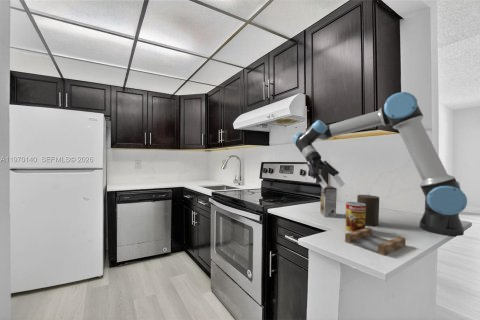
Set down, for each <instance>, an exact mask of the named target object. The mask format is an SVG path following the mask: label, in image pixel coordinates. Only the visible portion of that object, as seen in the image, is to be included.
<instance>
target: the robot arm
mask: <svg viewBox="0 0 480 320" xmlns="http://www.w3.org/2000/svg"><path fill="white" fill-rule="evenodd" d="M423 119H424V114H423V112H422V110H421V109H420V106H419V104H418V98H416V96H415V95H414V94H412V93H410V92H408V91H407V92H406V91H401V92H397V93H393V94H391V95H390V96H388V98H387V99H386V100H385V103H384V105H383V107H380V108H379V109H378V110H377V111H373V112H369V113H365V114H362V115H358V116H355V117H351V118H347V119H345V120H342V121H341V120H340V121H339V122H338V121H337V122H335V123H331V124H328V125H326V123H324V122H323V121H322V120H320V119H317V120H316V121H315V122H313V123H312V124H311V125H310V126H309V128H308V129H306V130H305V132H298V133H296V134H295V135H294V136H293V137H292V138H293V139H292V141H293V143H294V145H295V147H296V148H297V149H298V150H299V152H300V153H301V154H302V157H304V159H305V160H306V165H307V167H308V171H309V175H310V177H311V178H313V179H316V181H317V182H318V183H319V185H320V187H321V186H322V187H323V189H324V188H325V187H326V186H329V184H328V183H327V182H326V181H325V179H324V178H323V176H322V175H321V174H320V172H319V171H320V170H321V171H324V172H326V173H327V174H329V175H330V176H332V177H333V178H332V179H334V181H335V182H336V184H338V186H339V187H340V188H342V187H343V186H345V182H344V180H342V178H341V177H340V176H339V174H340V171H338V170H337V169H336V168H335V167H333V166H332V164H330V163H329V162H328V161H327V160H324V161H323V160H322V155H321V154H320V153H319V152H318V150H317V149H316V147H315V146H314V145H313V143H314V142H315V141H317V140H321V141H325V140H329V139H331V138H333V137H337V136H341V135H346V134H349V133H354V132H358V131H362V130H365V129H366V130H367V129H371V128H374V127H379V126H384V127H386V126H392V129H394V130H397V131H398V132H399V134H400V137H401V139H402V141H403V143H404V145H405V147H406V149H407V151H408V154H409V156H410V157H411V160H412V162H413V164H414V166H415V168H416V170H417V172H418V174H419V177H420V179H421V182H420V184H419V187H420V189H421V191H422V194H423V195H424V212H423V214H422V216H421V218H420V220H419V228H420V229H422V230H424V231H427V232H430V233H434V234H440V235H445V236H452V237H453V236H454V237H455V236H456V237H458V236H463V235H465V229H464V226H463V223H462V222H461V218H460V213H462V212H463V211H464V210H465V209H466V207H467V206H468V197H467V195H466V194H465V193H464V191H462V190H461V185H460V182H459V181H457V180H456V177H455V176H453V175H450V174H449V173H448V172H447V170H446V168H445V167H444V164H443V162H442V161H441V158H440V157H439V155H438V153H437V150H436V148H435V146H434V144H433V142H432V141H431V139H430V136H429V135H428V132H427V130H426V129H425V127H424V124H423V122H422V120H423Z"/></svg>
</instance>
